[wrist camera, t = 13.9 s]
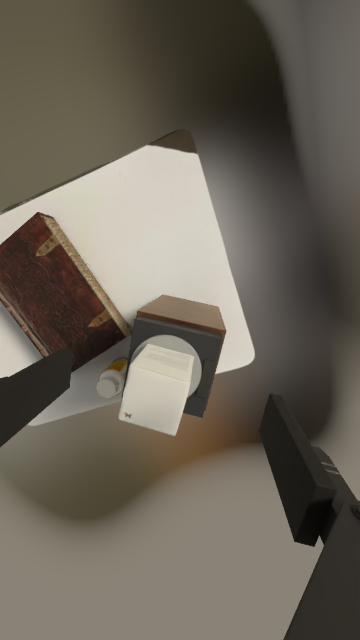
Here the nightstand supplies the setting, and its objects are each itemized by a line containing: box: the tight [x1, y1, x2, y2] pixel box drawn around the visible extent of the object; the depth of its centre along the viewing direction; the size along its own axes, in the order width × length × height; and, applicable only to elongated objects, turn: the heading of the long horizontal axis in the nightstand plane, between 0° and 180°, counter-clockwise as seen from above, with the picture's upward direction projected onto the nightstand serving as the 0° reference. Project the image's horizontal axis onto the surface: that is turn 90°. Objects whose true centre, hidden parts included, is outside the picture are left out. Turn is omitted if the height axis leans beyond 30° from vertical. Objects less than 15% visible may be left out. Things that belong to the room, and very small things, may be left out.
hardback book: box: [0, 212, 132, 373], centre depth 52 cm, size 29×19×5 cm, turn 33°
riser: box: [136, 295, 226, 411], centre depth 43 cm, size 12×12×20 cm
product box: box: [118, 344, 194, 436], centre depth 26 cm, size 6×6×7 cm
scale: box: [122, 315, 223, 417], centre depth 31 cm, size 11×11×3 cm
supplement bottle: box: [96, 359, 128, 398], centre depth 51 cm, size 5×5×10 cm
